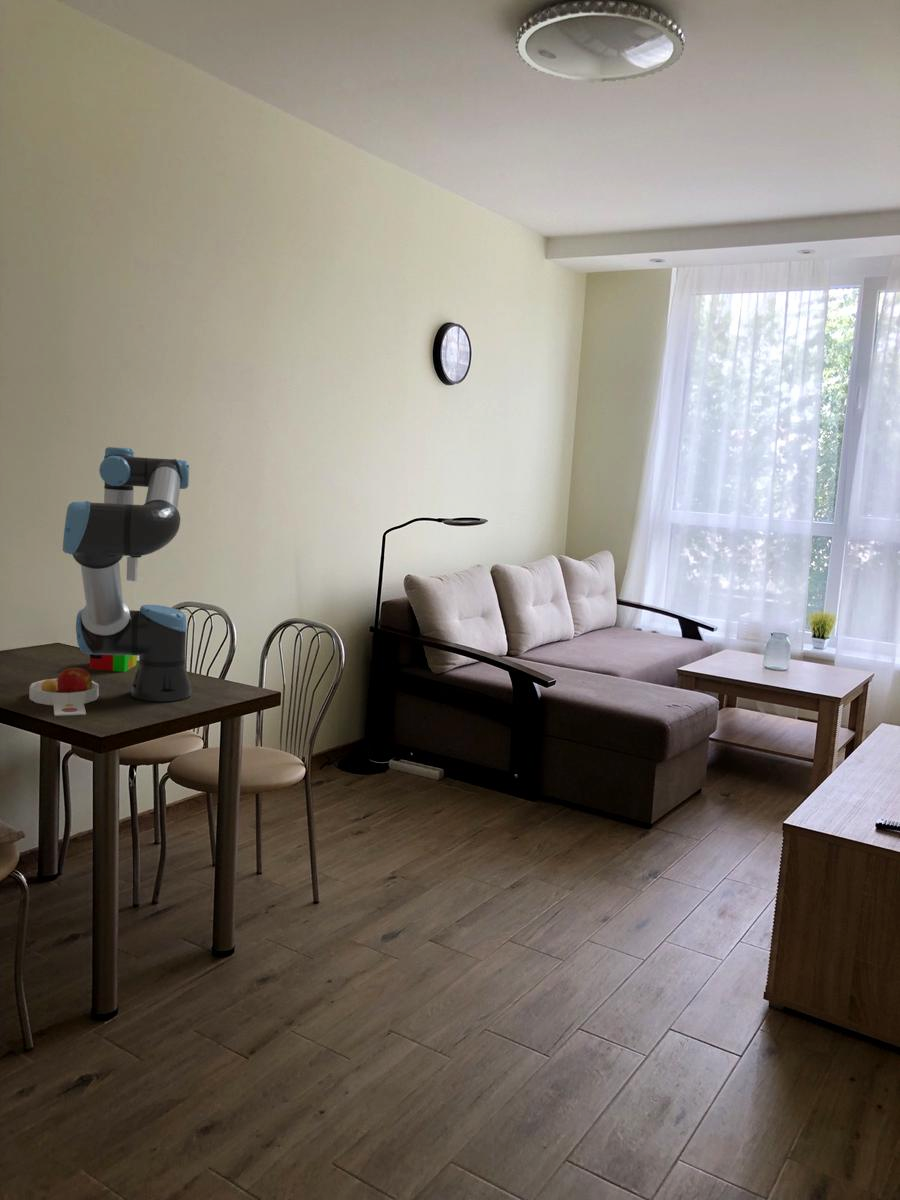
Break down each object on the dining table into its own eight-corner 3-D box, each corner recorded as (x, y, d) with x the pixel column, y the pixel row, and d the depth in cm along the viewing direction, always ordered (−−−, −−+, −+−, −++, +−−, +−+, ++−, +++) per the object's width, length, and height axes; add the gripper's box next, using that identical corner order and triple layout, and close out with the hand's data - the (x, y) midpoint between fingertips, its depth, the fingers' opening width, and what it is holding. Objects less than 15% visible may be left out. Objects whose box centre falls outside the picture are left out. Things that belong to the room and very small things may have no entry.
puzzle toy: (103, 662, 296) (103, 629, 294) (136, 664, 295) (137, 631, 294) (89, 669, 286) (90, 635, 284) (124, 672, 286) (125, 637, 284)
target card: (85, 714, 240) (85, 712, 240) (54, 715, 238) (54, 713, 238) (83, 704, 249) (83, 702, 249) (53, 704, 247) (53, 703, 247)
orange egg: (61, 694, 257) (61, 679, 257) (50, 697, 253) (51, 682, 253) (48, 692, 258) (48, 676, 258) (37, 695, 254) (37, 680, 254)
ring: (110, 694, 260) (111, 683, 259) (70, 708, 245) (70, 696, 244) (58, 686, 264) (59, 675, 264) (16, 699, 249) (16, 687, 249)
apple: (82, 703, 250) (82, 672, 249) (49, 700, 250) (50, 669, 249) (96, 696, 258) (96, 666, 256) (64, 693, 258) (65, 663, 257)
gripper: (133, 502, 282) (132, 577, 286) (76, 505, 259) (75, 586, 262) (157, 504, 280) (154, 579, 284) (101, 507, 257) (99, 589, 260)
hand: (116, 583), depth 273 cm, fingers open, 13 cm apart
